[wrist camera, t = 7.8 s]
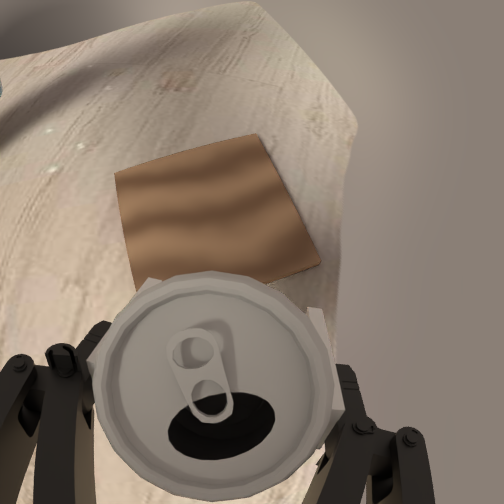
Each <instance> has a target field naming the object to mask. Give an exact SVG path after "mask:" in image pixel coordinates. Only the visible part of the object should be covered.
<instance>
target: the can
mask: <svg viewBox="0 0 504 504" xmlns="http://www.w3.org/2000/svg"><path fill="white" fill-rule="evenodd" d="M92 386H93V393H94V400H95V406H96V412H97V418H98V420H99V422H100V424H101V427H102V429H103V431H104V432H105V434H106V436H107V438H108V440H109V442H110V444H111V446H112V448H113V450H114V451H115V452H116V453H117V454H118V455H119V456H120V458H121V459H122V460H123V461H124V462H125V463H126V464H127V465H128V466H129V467H130V468H131V469H132V470H133V471H134V472H135V473H137V474H138V475H139V476H140V477H141V478H143V479H144V480H146V481H148V482H150V483H152V484H154V485H155V486H157V487H159V488H161V489H163V490H165V491H167V492H169V493H171V494H173V495H176V496H181V497H186V498H191V499H197V500H203V501H209V502H216V501H225V500H233V499H241V498H248V497H251V496H253V495H255V494H258V493H260V492H262V491H264V490H266V489H269V488H271V487H273V486H275V485H277V484H279V483H281V482H283V481H284V480H286V479H288V478H289V477H290V476H291V475H292V474H293V473H294V472H295V471H296V470H297V469H298V468H299V467H300V466H301V465H302V464H303V463H304V462H306V461H307V460H308V459H309V458H310V457H311V455H312V454H313V453H314V452H315V450H316V448H317V446H318V444H319V442H320V440H321V438H322V436H323V434H324V432H325V430H326V428H327V426H328V424H329V422H330V418H331V410H332V403H333V395H334V387H335V384H334V379H333V374H332V369H331V364H330V359H329V355H328V350H327V348H326V346H325V344H324V343H323V341H322V339H321V337H320V336H319V334H318V332H317V330H316V329H315V327H314V325H313V323H312V322H311V320H310V318H309V317H308V316H307V315H306V314H305V313H304V312H303V311H301V310H300V309H299V308H298V307H297V306H296V305H295V304H294V303H293V302H292V301H291V300H289V299H288V298H287V297H286V296H285V295H284V294H283V293H282V292H280V291H278V290H276V289H274V288H271V287H269V286H267V285H265V284H263V283H261V282H259V281H257V280H255V279H253V278H251V277H248V276H243V275H236V274H230V273H223V272H217V271H205V272H198V273H191V274H183V275H176V276H173V277H171V278H169V279H167V280H165V281H163V282H161V283H158V284H156V285H154V286H152V287H150V288H148V289H146V290H144V291H142V292H141V293H140V294H139V295H138V296H137V297H136V298H134V299H133V300H132V301H131V302H130V303H129V304H128V305H127V306H126V307H125V308H124V309H123V310H122V311H121V312H119V313H118V314H117V316H116V317H115V319H114V321H113V323H112V324H111V326H110V328H109V330H108V332H107V334H106V335H105V337H104V339H103V341H102V343H101V345H100V347H99V349H98V352H97V358H96V363H95V369H94V375H93V382H92Z"/></svg>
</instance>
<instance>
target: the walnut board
mask: <svg viewBox="0 0 504 504" xmlns="http://www.w3.org/2000/svg"><path fill="white" fill-rule="evenodd" d="M114 175H115V183H116V190H117V197H118V203H119V210H120V216H121V221H122V227H123V232H124V238H125V243H126V248H127V253H128V257H129V262H130V267H131V271H132V275H133V280H134V284H135V288H136V292H137V291H138V290H139V289H140V287H141V286H142V285H143V284H144V282H145V281H146V280H147V279H148V277H149V278H153V279H158V280H162V282H163V281H165V280H167V279H169V278H171V277H173V276H176V275H183V274H191V273H198V272H205V271H217V272H223V273H230V274H236V275H243V276H248V277H251V278H253V279H255V280H257V281H259V282H261V283H263V284H267V283H270V282H273V281H275V280H278V279H281V278H284V277H287V276H289V275H292V274H295V273H298V272H300V271H303V270H306V269H309V268H311V267H314V266H317V265H319V264H320V262H321V259H320V257H319V255H318V253H317V251H316V249H315V247H314V245H313V243H312V240H311V238H310V236H309V234H308V232H307V230H306V228H305V226H304V224H303V222H302V220H301V218H300V216H299V214H298V212H297V210H296V208H295V206H294V204H293V202H292V200H291V198H290V196H289V194H288V192H287V190H286V188H285V187H284V185H283V183H282V181H281V179H280V177H279V175H278V173H277V171H276V169H275V167H274V166H273V164H272V162H271V160H270V158H269V156H268V154H267V153H266V151H265V149H264V147H263V145H262V143H261V142H260V140H259V138H258V136H257V134H251V135H247V136H242V137H238V138H233V139H229V140H225V141H221V142H216V143H212V144H209V145H205V146H201V147H197V148H193V149H190V150H186V151H182V152H179V153H175V154H172V155H169V156H165V157H162V158H159V159H155V160H152V161H149V162H146V163H143V164H140V165H137V166H134V167H131V168H128V169H125V170H122V171H119V172H116V173H114Z"/></svg>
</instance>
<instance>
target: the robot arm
mask: <svg viewBox="0 0 504 504" xmlns="http://www.w3.org/2000/svg"><path fill="white" fill-rule="evenodd" d="M1 95H2V84H1V80H0V97H1ZM161 282H162V280H158V279H153V278H149V277H148V279H147V280H146V281H145V282H144V284H143V285H142V286H141V287H140V289H139V290H138V291H137V293H136V294H135V295H134V296H133V298H132V299H131V300H130V302H131V301H132V300H133V299H134V298H136V297H137V296H138V295H139V294H140V293H141V292H142V291H144V290H146V289H148V288H150V287H152V286H154V285H156V284H158V283H161ZM130 302H129V303H130ZM129 303H128V304H129ZM128 304H127V305H128ZM306 315H307V316H308V317H309V318H310V320H311V322H312V323H313V325H314V327H315V329H316V330H317V332H318V334H319V336H320V337H321V339H322V341H323V343H324V344H325V346H326V348H327V350H328V355H329V359H330V364H331V369H332V374H333V379H334V384H335V387H334V395H333V403H332V410H331V418H330V422H329V424H328V426H327V428H326V430H325V432H324V434H323V436H322V438H321V440H320V442H319V444H318V446H317V448H316V449H320V448H321V447H322V445H323V444H324V442H325V453H324V454H323V455H322V457H321V458H320V460H319V461H318V462H317V464H316V465H318V468H317V470H316V472H315V475H314V477H313V480H312V482H311V484H310V487H309V489H308V491H307V493H306V496H305V498H304V500H303V502H302V504H360V502H361V498H362V495H363V492H364V488H365V484H366V504H435V498H434V491H433V484H432V477H431V471H430V465H429V460H428V455H427V450H426V445H425V440H424V438H423V435H422V434H421V433H420V432H419V431H418V430H416V429H415V428H412V427H403V428H401V429H399V430H398V431H397V433H394V432H390V431H386V430H382V429H379V428H377V426H376V424H375V422H374V421H373V420H372V419H370V418H369V417H367V415H366V412H365V408H364V404H363V400H362V397H361V393H360V391H359V386H358V384H357V378H356V375H355V373H354V371H353V370H352V369H351V368H350V366H349V365H343V364H335V360H334V356H333V352H332V347H331V343H330V339H329V335H328V331H327V327H326V323H325V318H324V314H323V310H322V309H321V308H314V307H307V311H306ZM111 324H112V323H110V322H107V321H104V320H103V321H101V322H99V323H98V324H96V325H94V326H93V328H92V329H91V330H90V331H89V333H88V334H87V335H86V336H85V338H84V340H82V341H81V343H80V344H79V345H78V347H77V348H76V349H75V348H74V347H73V346H71V345H70V344H65V343H59V344H55V345H52V346H51V347H50V348H48V349H47V351H46V353H45V356H46V359H47V362H48V365H49V367H48V366H40V365H35V364H34V361H33V360H32V358H31V357H30V356H28V355H25V354H18V355H15V356H13V357H11V358H10V359H9V360H8V361H7V363H6V364H5V366H4V367H3V369H2V370H1V372H0V504H16V501H17V498H18V495H19V491H20V488H21V485H22V482H23V479H24V476H25V473H26V470H27V468H28V465H29V462H30V459H31V457H32V454H33V452H34V449H35V446H36V444H37V448H36V458H35V470H34V490H33V504H96V494H95V478H94V409H93V404H94V403H95V400H94V393H93V386H92V382H93V375H94V369H95V363H96V358H97V352H98V349H99V347H100V345H101V343H102V341H103V339H104V337H105V335H106V334H107V332H108V330H109V328H110V326H111Z"/></svg>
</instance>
